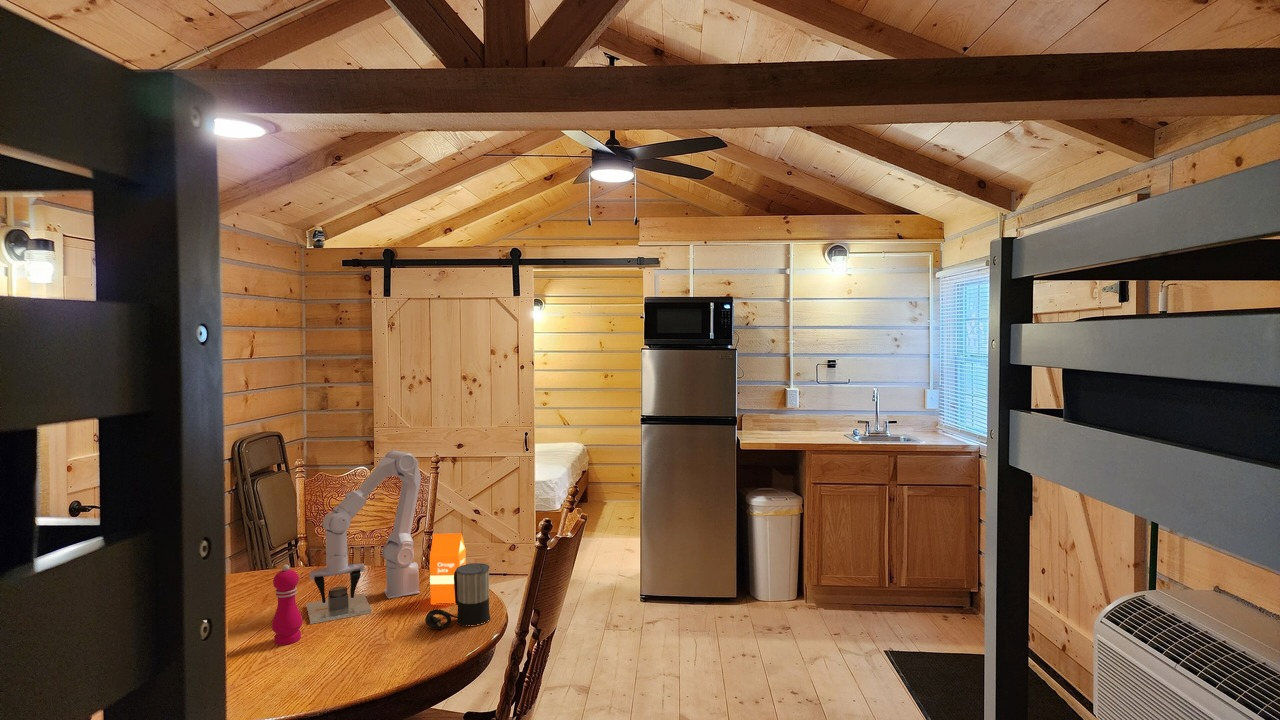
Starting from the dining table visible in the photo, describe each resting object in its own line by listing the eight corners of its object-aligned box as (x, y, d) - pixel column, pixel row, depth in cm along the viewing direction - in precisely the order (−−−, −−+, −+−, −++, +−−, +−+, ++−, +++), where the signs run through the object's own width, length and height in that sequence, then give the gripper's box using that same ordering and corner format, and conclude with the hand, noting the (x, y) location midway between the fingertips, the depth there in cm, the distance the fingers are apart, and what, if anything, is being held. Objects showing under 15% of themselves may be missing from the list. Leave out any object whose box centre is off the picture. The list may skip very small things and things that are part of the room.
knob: (346, 602, 210) (346, 585, 210) (348, 607, 205) (348, 589, 205) (328, 605, 207) (327, 588, 207) (329, 610, 203) (329, 593, 203)
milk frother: (498, 618, 198) (496, 565, 197) (456, 638, 184) (454, 582, 184) (461, 609, 205) (459, 558, 205) (418, 628, 191) (417, 574, 191)
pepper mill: (290, 647, 181) (288, 569, 180) (265, 645, 182) (263, 568, 182) (309, 635, 188) (306, 560, 188) (285, 634, 189) (283, 559, 189)
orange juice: (459, 604, 209) (458, 536, 209) (430, 604, 209) (428, 537, 209) (466, 594, 217) (465, 530, 217) (438, 595, 217) (436, 530, 217)
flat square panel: (363, 596, 218) (363, 585, 217) (371, 612, 204) (371, 600, 203) (306, 606, 210) (306, 594, 210) (310, 624, 196) (310, 611, 196)
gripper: (361, 546, 213) (362, 590, 214) (308, 553, 206) (309, 600, 207) (364, 551, 207) (365, 597, 207) (310, 559, 200) (311, 607, 200)
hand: (338, 599), depth 207 cm, fingers open, 7 cm apart
